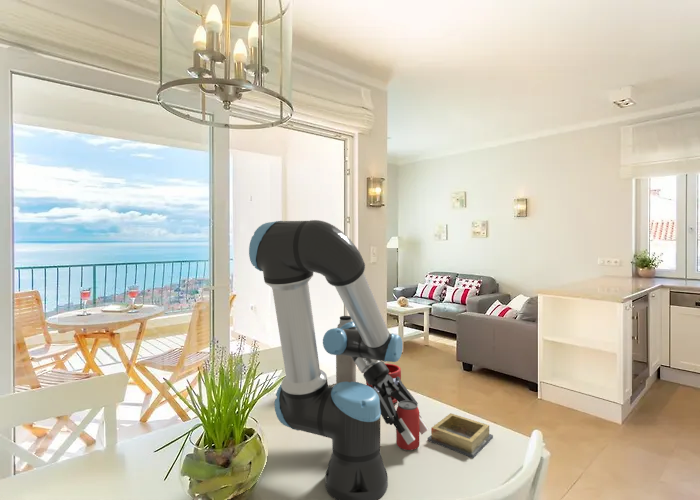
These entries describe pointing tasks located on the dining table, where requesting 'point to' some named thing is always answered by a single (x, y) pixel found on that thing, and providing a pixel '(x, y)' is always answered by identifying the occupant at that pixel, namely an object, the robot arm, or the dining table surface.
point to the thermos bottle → (345, 361)
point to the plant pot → (392, 375)
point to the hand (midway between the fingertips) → (418, 436)
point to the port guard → (460, 434)
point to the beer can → (408, 423)
